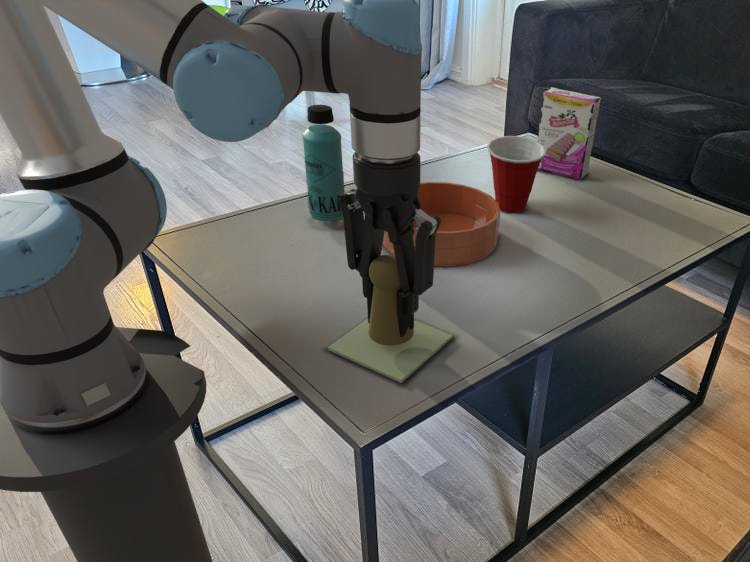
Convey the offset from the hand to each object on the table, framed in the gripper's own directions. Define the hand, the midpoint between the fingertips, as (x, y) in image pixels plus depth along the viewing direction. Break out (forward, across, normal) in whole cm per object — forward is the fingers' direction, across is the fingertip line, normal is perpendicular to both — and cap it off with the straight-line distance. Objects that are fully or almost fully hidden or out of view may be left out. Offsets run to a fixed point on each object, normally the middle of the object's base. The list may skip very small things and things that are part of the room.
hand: (391, 324), depth 86 cm
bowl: (+3, +12, -30) cm, 32 cm away
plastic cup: (+3, +8, -49) cm, 50 cm away
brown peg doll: (+1, 0, 0) cm, 1 cm away
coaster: (+3, 0, 0) cm, 3 cm away
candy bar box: (+3, +8, -72) cm, 73 cm away
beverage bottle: (+3, +31, -23) cm, 39 cm away
